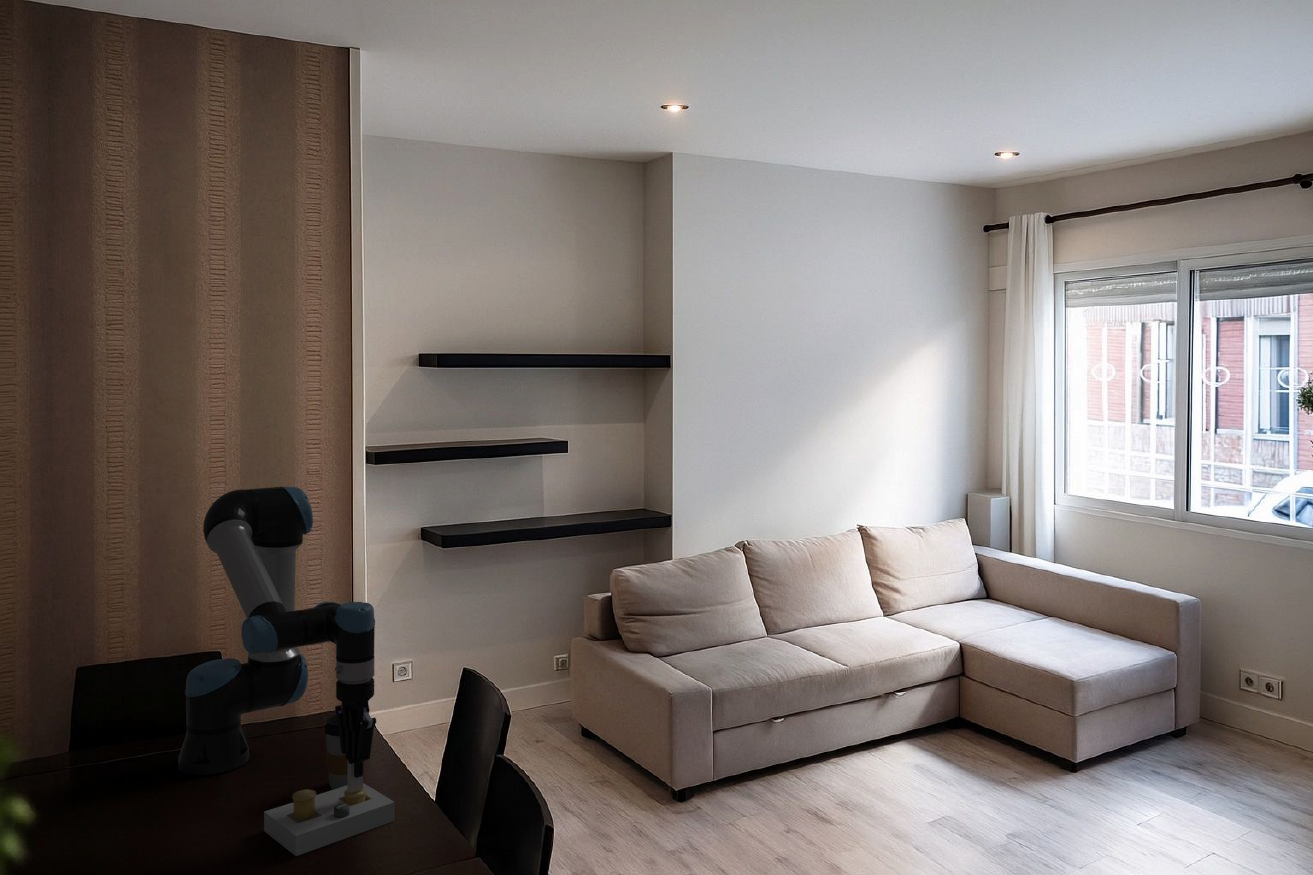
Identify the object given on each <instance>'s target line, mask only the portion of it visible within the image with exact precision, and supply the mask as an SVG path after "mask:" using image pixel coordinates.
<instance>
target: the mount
mask: <svg viewBox="0 0 1313 875" xmlns="http://www.w3.org/2000/svg"><path fill="white" fill-rule="evenodd" d="M363 788H365V789H366V794H365V801H364V802H361V803H358V804H355V805H352V806H349V805H348V804H346V803H345V796H344V791H345V790H347V789H348V785H347V786H344V787H340V788H337V789H330V790H329V791H325V792H321V793H319V794H316V796H315V814H314V815H313V816H311V817H308V818H302V819H299V818H295V817H294V816H293V802H291V803H287V804H284V805H281V806H277V807H274V808H271V809H268V810H265V811H263V814H264V815H263V817H264V818H263V821H264V822H263V831H264V832H265V834H267V835H268V836H270V837H271V838H273V839H274V840H275V841H276V842H277V843H279V845H281V846H282V847H283V848H285V849H286V851H289V853H291V854H293V855H294V856H295V857H299V856H301V855H304V854H307V853H309V852H312V851H315V850H317V849H321V848H323V847H325V846H329V845H330V844H331V845H332V844H334V843H337V842H340V841H343V840H346V839H348V838H351V837H353V836H357V835H359V834H362V833H365V832H367V831H370V830H373V829H376V828H379V827H382V826H384V825H387V824H389V823H392V822H395V801H393V800H392V799H391V798H388V797H387V796H386V795H384V794H382V793H380V792H379V791H377V790H375V789H374V788H372V787H370V786H369V785H368V784H366V783H364V782H363Z"/></svg>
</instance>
